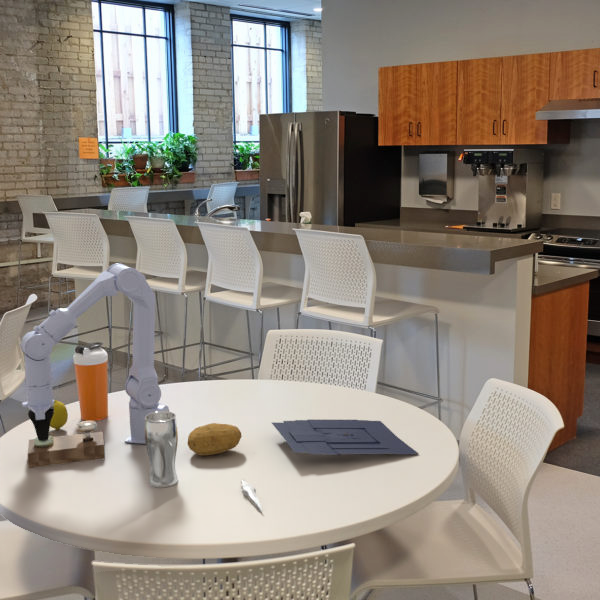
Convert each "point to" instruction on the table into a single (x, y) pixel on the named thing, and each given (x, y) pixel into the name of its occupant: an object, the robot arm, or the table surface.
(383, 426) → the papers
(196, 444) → the potato
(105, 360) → the shaker bottle
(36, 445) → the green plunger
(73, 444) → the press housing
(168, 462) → the beer glass
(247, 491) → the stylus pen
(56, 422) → the lemon
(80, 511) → the table surface
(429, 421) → the table surface
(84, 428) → the silver knob
